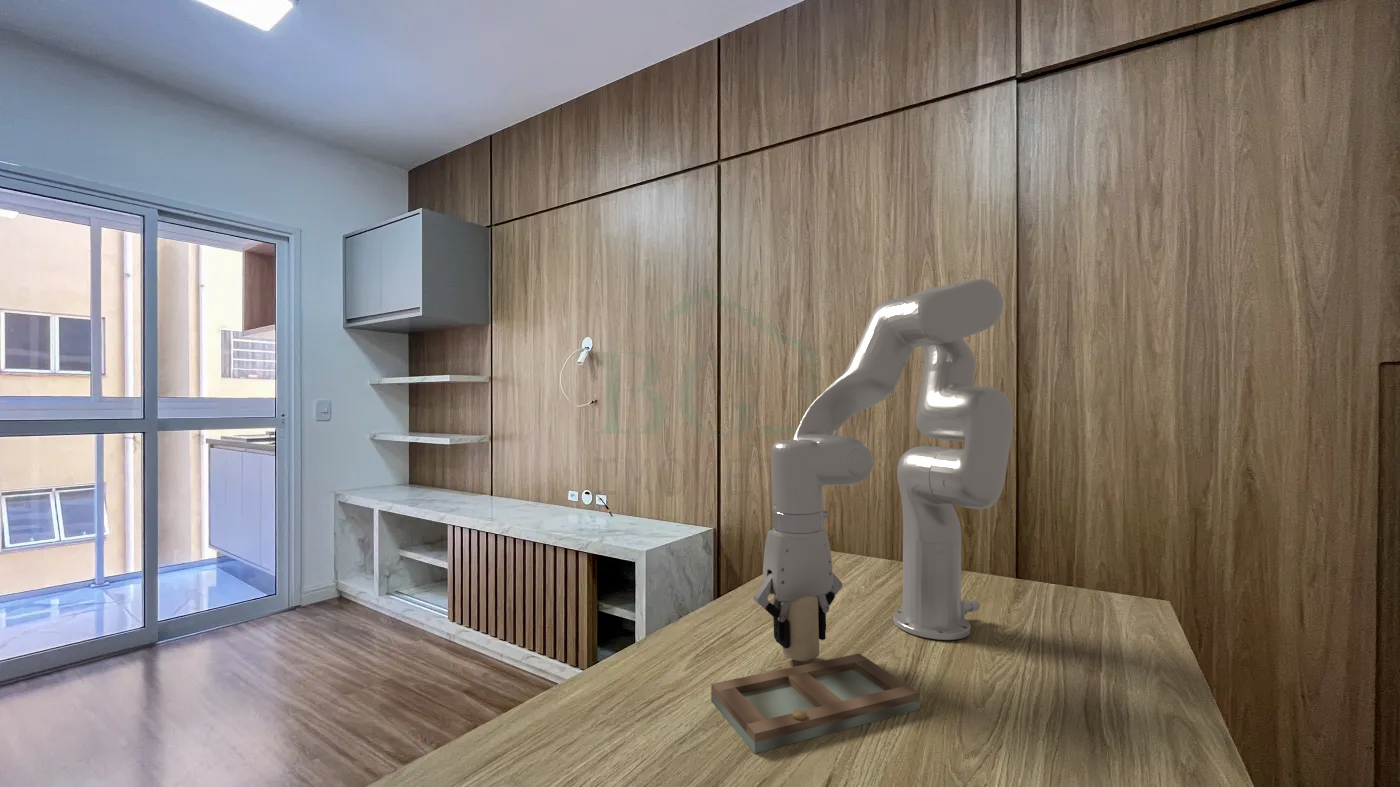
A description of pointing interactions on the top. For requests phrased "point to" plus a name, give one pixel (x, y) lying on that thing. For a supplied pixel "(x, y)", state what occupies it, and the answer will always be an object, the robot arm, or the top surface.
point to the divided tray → (811, 700)
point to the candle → (803, 629)
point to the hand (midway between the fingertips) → (800, 639)
